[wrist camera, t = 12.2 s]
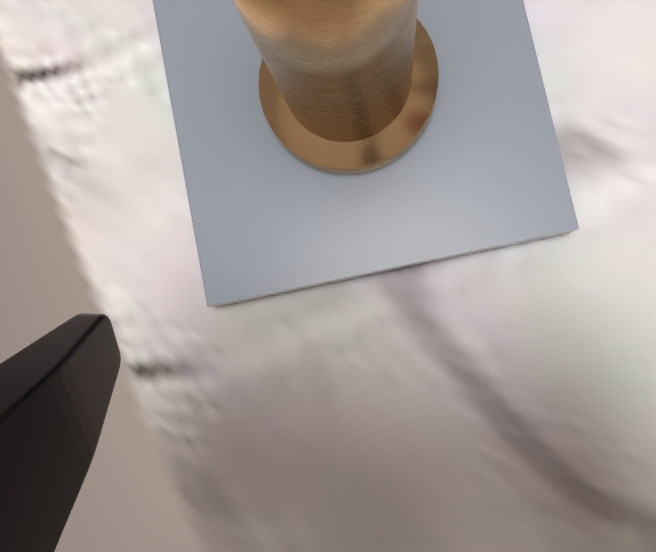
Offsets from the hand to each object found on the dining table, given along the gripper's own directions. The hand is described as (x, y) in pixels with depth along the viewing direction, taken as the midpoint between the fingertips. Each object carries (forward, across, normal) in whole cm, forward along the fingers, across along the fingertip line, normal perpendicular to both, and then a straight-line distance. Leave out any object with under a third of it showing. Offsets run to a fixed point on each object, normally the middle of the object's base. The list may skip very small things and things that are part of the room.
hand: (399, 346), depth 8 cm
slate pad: (+13, +1, 0) cm, 13 cm away
